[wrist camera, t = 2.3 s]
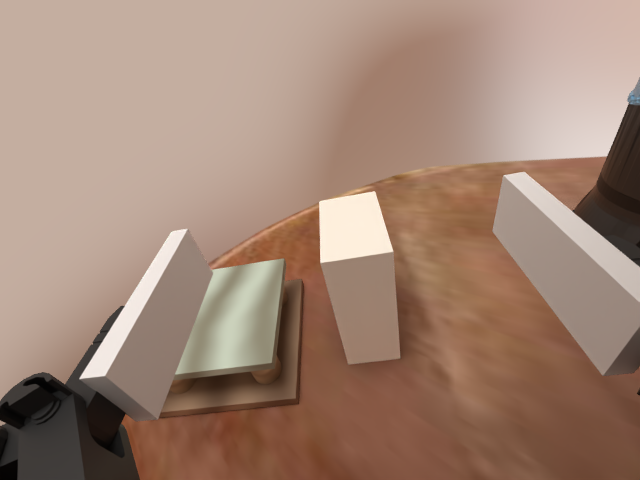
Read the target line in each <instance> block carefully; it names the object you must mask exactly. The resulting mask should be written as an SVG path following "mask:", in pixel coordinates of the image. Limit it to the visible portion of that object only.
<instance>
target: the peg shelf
mask: <svg viewBox="0 0 640 480" xmlns="http://www.w3.org/2000/svg"><path fill="white" fill-rule="evenodd" d="M212 272H213V275H212V278H211V281H210V283H209V286H208V289H207V291H206V294H205V297H204V299H203V302H202V305H201V307H200V310H199V312H198V315H197V318H196V320H195V323H194V326H193V328H192V331H191V334H190V336H189V339H188V342H187V344H186V347H185V349H184V352H183V355H182V357H181V360H180V363H179V365H178V368H177V371H176V373H175V376H174V379H173V381H172V384H171V386H170V389H169V392H168V394H167V397H166V400H165V402H164V405H163V408H162V410H161V413H160V416H159V418H164V417H173V416H183V415H193V414H203V413H212V412H222V411H232V410H242V409H252V408H261V407H271V406H281V405H291V404H299V383H300V359H301V335H302V312H303V288H304V284H303V281H302V279H298V280H291V281H285V272H286V262H285V259H278V260H271V261H265V262H259V263H252V264H246V265H240V266H234V267H227V268H221V269H215V270H212Z"/></svg>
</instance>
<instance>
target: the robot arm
mask: <svg viewBox="0 0 640 480" xmlns="http://www.w3.org/2000/svg"><path fill="white" fill-rule="evenodd" d="M628 102H629V105H628V107H627V110H626V112H625V114H624V117H623V119H622V122H621V125H620V127H619V129H618V132H617V135H616V137H615V139H614V142H613V144H612V146H611V149H610V151H609V154H608V156H607V158H606V161H605V163H604V165H603V168H602V171H601V173H600V175H599V178H598V180H597V183H596V185H595V186H594V188H593V189H592V190H591V191H590V192H589V193H588V194H587V195H586V196H585V197H584V198H583V199H582V200H581V202H580V203H579V204H578V205H577V207H576V208H575V209H574V210H573V211H571V210H570V209H569V208H567V207H566V206H565V205H564V204H562V203H561V202H560V201H559V200H558V199H556V198H555V197H554V196H553V195H552V194H550V193H549V192H548V191H547V190H546V189H544V188H543V187H542V186H541V185H539V184H538V183H537V182H536V181H535V180H533V179H532V178H531V177H530V176H529V175H527V174H526V173H525V172H521V173H515V174H509V175H503V180H502V185H501V190H500V195H499V200H498V206H497V211H496V216H495V221H494V226H493V233H494V234H495V235H496V237H497V238H498V239H499V241H500V242H501V243H502V245H503V246H504V247H505V248H506V250H507V251H508V252H509V254H510V255H511V256H512V258H513V259H514V260H515V262H516V263H517V264H518V265H519V267H520V268H521V269H522V271H523V272H524V273H525V275H526V276H527V277H528V279H529V280H530V281H531V283H532V284H533V285H534V286H535V288H536V289H537V290H538V292H539V293H540V294H541V296H542V297H543V298H544V300H545V301H546V302H547V303H548V305H549V306H550V307H551V309H552V310H553V311H554V313H555V314H556V315H557V317H558V318H559V319H560V320H561V322H562V323H563V324H564V326H565V327H566V328H567V330H568V331H569V332H570V334H571V335H572V336H573V338H574V339H575V340H576V341H577V343H578V344H579V345H580V347H581V348H582V349H583V351H584V352H585V353H586V355H587V356H588V357H589V358H590V360H591V361H592V362H593V364H594V365H595V366H596V368H597V369H598V370H599V372H600V373H601V374H602V376H608V375H618V374H628V373H634V372H635V371H636V370H637V368H638V367H639V366H640V78H639V81H638V83H637V85H636V87H635V89H634V90H633V91H631V93H630V94H629V96H628ZM212 275H213V272H212V270H211V268H210V267H209V265H208V263H207V261H206V260H205V258H204V256H203V254H202V253H201V251H200V249H199V247H198V246H197V244H196V242H195V240H194V239H193V237H192V235H191V234H190V232H189V230H188V229H184V230H178V231H172V232H171V233H170V235H169V237H168V238H167V240H166V241H165V243H164V245H163V246H162V248H161V249H160V251H159V253H158V254H157V256H156V257H155V259H154V260H153V262H152V264H151V265H150V267H149V268H148V270H147V272H146V273H145V275H144V276H143V278H142V280H141V281H140V283H139V285H138V286H137V288H136V289H135V291H134V292H133V294H132V295H131V297H130V299H129V300H128V302H127V304H126V305H125V306H121V307H120V308H119V309H117V310H116V311H115V312H114V313H113V314H112V315H111V316H110V317H109V318H108V320H107V321H106V323H105V324H104V326H103V327H102V329H101V330H100V334H98V335H97V337H96V338H95V339H94V341H93V345H91V346H90V347H89V349H88V351H87V352H86V353H85V355H84V357H83V358H82V359H81V361H80V362H79V364H78V366H77V367H76V369H75V370H74V372H73V373H72V375H71V376H70V378H69V379H68V381H67V382H66V384H63V383H62V382H60V381H59V380H57V379H56V378H55V377H53V376H52V375H50V374H48V373H44V372H42V373H38V374H34V375H32V376H30V377H28V378H26V379H24V380H23V381H21V382H20V383H18V384H17V385H15V386H14V387H13V388H12V389H11V390H10V391H9V392H8V393H7V394H6V395H5V396H4V397H3V398H2V399H1V401H0V420H1V421H3V422H5V423H7V424H5V425H2V426H0V480H140V479H139V475H138V471H137V468H136V464H135V460H134V457H133V453H132V449H131V446H130V442H129V438H128V435H127V431H126V429H125V427H124V426H123V425H122V424H121V422H122V420H123V418H124V416H125V414H127V415H128V416H130V417H131V418H132V419H134V420H135V421H146V420H156V419H158V418H159V416H160V413H161V410H162V408H163V405H164V402H165V400H166V397H167V394H168V392H169V389H170V386H171V384H172V381H173V379H174V376H175V373H176V371H177V368H178V365H179V363H180V360H181V357H182V355H183V352H184V349H185V347H186V344H187V342H188V339H189V336H190V334H191V331H192V328H193V326H194V323H195V320H196V318H197V315H198V312H199V310H200V307H201V305H202V302H203V299H204V297H205V294H206V291H207V289H208V286H209V283H210V281H211V278H212ZM637 394H638V395H640V388H639V390H638V392H637Z"/></svg>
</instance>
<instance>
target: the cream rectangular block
mask: <svg viewBox="0 0 640 480" xmlns="http://www.w3.org/2000/svg"><path fill="white" fill-rule="evenodd" d="M319 205H320V262H321V267H322V270H323V274H324V278H325V281H326V285H327V289H328V292H329V296H330V300H331V303H332V307H333V311H334V314H335V318H336V322H337V325H338V329H339V333H340V336H341V340H342V344H343V347H344V351H345V355H346V358H347V362H348V365H349V364H358V363H367V362H376V361H384V360H393V359H400V344H399V330H398V315H397V300H396V285H395V271H394V256H393V249H392V246H391V243H390V240H389V236H388V233H387V230H386V226H385V223H384V220H383V216H382V213H381V210H380V207H379V203H378V200H377V197H376V193H375V191H374V192H369V193H363V194H357V195H352V196H346V197H341V198H335V199H329V200H324V201H319Z"/></svg>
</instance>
